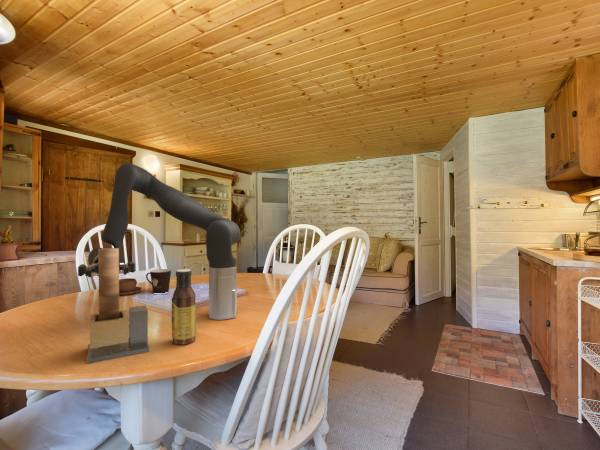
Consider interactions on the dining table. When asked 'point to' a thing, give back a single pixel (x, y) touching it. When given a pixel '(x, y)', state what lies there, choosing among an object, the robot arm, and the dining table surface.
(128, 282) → the cup and saucer
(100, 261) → the rod
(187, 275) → the sauce bottle
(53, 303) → the dining table surface
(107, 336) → the bracket
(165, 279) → the coffee mug
